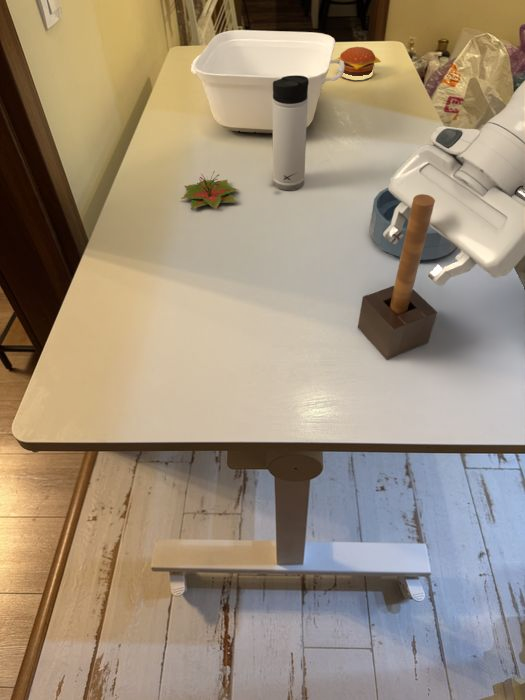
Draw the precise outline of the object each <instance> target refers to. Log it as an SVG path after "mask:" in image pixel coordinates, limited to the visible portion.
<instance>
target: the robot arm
mask: <svg viewBox="0 0 525 700" xmlns="http://www.w3.org/2000/svg"><path fill="white" fill-rule="evenodd" d="M429 140H430V142H431V143H430V144H425V145H423V146H421V147H418V149H416V150H415V151H414V152H413V153H412V154H411V155H410V156H409V157H408V158H407V159H406V160H405V161H404V162H403V164H401V165H400V167H399V168H397V170H396V171H395V173H393V175H392V177H391V178H390V180H389V182H388V187H387V188H388V190H389V192H390V193H391V194H392V195H393V196H394V197H395V198H396V199H398V200H399V201H400V202H401V203H400V204H399V205H398V206H397V207H396V208H395V211H394V215H393V218H392V221H391V225H390V226H389V227H388V228H387V229H386V230H385V232H384V233H383V236H384V237H385V238H386V239H388V240H389V241H390V242H391V243H392V244H396V243H397V242H398V240H399V239H401V238H402V237H403V236H404V235H403V234H402V233H401V230H402V227H403V225H404V222H405V220H406V219H407V220H409V216H410V212H411V207H412V203H413V198H414V197H415V196H416V195H420V194H425V195H429V196H431V197H433V198H434V199H435V204H434V207H433V211H432V215H431V219H430V223H429V226H431V227H432V228H433V229H434V230H436V231H437V232H438V233H439V234H440V235H442V236H443V237H444V238H445V239H447V240H448V241H449V242H450V243H452V244H453V245H454V246H455V247H456V248H455V249H458V250H459V251H460V252H458V253H457V255H456V256H454V257H455V258H454V259H455V260H456V261H454V262H451V263H449V264H447V265H445V266H444V267H442V266H441V265H439V264H436V266H435V267H434V268H433V270H431V271H430V272H429V273H428V278H429V279H430V280H431V281H433V282H434V284H436V285H437V286H438V287H443V286H444V285H445V284H446V283H447V281H449V280H450V279H451V278H453V277H456V276H460V275H461V274H465V273H468V272H470V271H471V270H472V269H473V268H474V267H475V266H476V265H477V266H478V267H480V268H481V269H482V270H483V271H484V272H486V273H487V274H488V275H489V276H491V277H492V278H495V279H497V278H501V277H505V276H507V275H508V274H509V273H510V272H512V270H513V269H514V268H515V267H517V265H518V263H520V261H521V260H522V259H523V258H524V257H525V80H524V81H522V82H521V84H520V85H519V86H518V87H517V88H516V89H515V91H514V92H513V94H512V95H511V98H510V99H509V101H508V103H507V104H506V106H504V108H503V109H502V110H501V111H500V112H499V113H497V114H496V115H494V116H492V117H490V119H489V120H488V121H487V122H486V123H485V124H484V125H483V126H482V127H481V128H480V129H477V128H461V127H453V126H446V125H441V126H438V127H437V128H435V130H433V132H431V135H430V137H429Z"/></svg>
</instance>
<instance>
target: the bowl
mask: <svg viewBox="0 0 525 700" xmlns="http://www.w3.org/2000/svg"><path fill="white" fill-rule="evenodd" d="M400 203H401V202H400V201H399V200H398V199H396V198H395V197H394V196H393V195H392V194H391V193H390V192H389V190H388V187H386V188H384V189H383V190H381V191H379V192H378V193H377V194H376V196H375V197H374V198H373V203H372V210H371V215H370V223H369V231H368V233H369V236H370V237H371V240H372V241H373V243H375V244H376V245H377V246H378V247H379V248H380V249H381V250H383V251H385V252H386V253H388V254H390V255H392V256H396V257H399V258H401V253H402V249H403V244H404V239H405V235H406V230H407V226H408V221H409V220H407V219H406V220H405V222H404V225H403V227H402V230H401V233H402V234H403V235H404V236H403V237H402V238H401V239H399V240H398V242H397V243H396V244H392V243H391V242H390V241H389V240H388V239H386V238H385V237H384V236H383V233H384V232H385V230H386V229H387V228H388V227H389V226H390V225H391V221H392V218H393V215H394V211H395V208H396V207H397V206H398V205H399V204H400ZM456 249H457V248H456V247H455V246H454V245H453V244H452V243H450V242H449V241H448V240H447V239H445V238H444V237H443V236H442V235H440V234H439V233H438V232H437V231H436V230H434V229H433V228H432V227H431V226H429V227H428V231H427V235H426V239H425V243H424V247H423V251H422V255H421V259H420V261H425V260H436V259H439V258H442V257H445V256H447V255H449V254H450V253H452V252H453V251H454V250H456Z"/></svg>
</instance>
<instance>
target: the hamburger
mask: <svg viewBox="0 0 525 700" xmlns="http://www.w3.org/2000/svg"><path fill="white" fill-rule="evenodd" d="M336 59H339V60H342V61H343V62H344V72H343V73H345V74H348V75H352V76H363V75H369V74H370V73H371V72H372V70H374V67H375V63H376V64H377V63H381V62H382V61H381V60H380V59H379V58H378V57H377V56H376V55H375V53H374V51H373V50H371V49H369V48H367V47H363V46H353V47H348V48H347V49H346V50H344V51H342V52H341V53H340V55H339V57H337V58H335V59H334V60H336Z"/></svg>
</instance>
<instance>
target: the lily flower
mask: <svg viewBox="0 0 525 700" xmlns="http://www.w3.org/2000/svg"><path fill="white" fill-rule="evenodd" d="M214 173H215V170H213V172H212V175H214ZM200 175H201V176H202V177H201V176H199V178H198V180H199V182H197V183H196V184H195V183H194V184H188V185H184V188H185V189H186V191H187V192H186V193H184V195H183V196H182V197H180V200H183V199H185V200H186V199H191V201H190V207H191V208H190V210H194V209H197V208H199V207H202V206H207V205H209V206H211V208H214V210H216V211H217V209H218V207H219V205H220V203H237V200H236V199H235V197H234V196H233V195H232V194H231V193H233V192H236V191H239V189H237V188H235V187H233V186H231V185H229V182H228V179H224V180H219V179H218V178H217V177H219V176H220V173H219V174H217V175H216V176H215V177H214V178H213V176H211V177H210V179H209V177H208V176H206V177H205V176H204V174H203V173H200Z"/></svg>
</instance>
